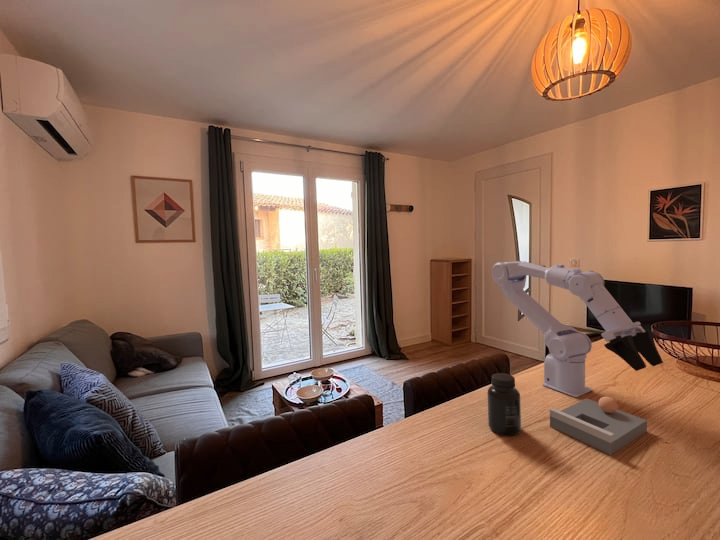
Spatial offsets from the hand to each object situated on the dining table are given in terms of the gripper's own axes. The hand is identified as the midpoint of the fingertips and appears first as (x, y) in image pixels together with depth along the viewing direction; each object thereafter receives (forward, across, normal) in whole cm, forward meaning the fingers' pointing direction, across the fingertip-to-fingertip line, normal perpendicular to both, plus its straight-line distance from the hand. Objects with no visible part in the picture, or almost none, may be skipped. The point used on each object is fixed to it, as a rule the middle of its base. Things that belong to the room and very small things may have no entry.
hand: (649, 366), depth 73 cm
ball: (+4, -7, +9) cm, 12 cm away
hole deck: (+8, -11, +12) cm, 18 cm away
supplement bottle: (+2, -28, +21) cm, 35 cm away
